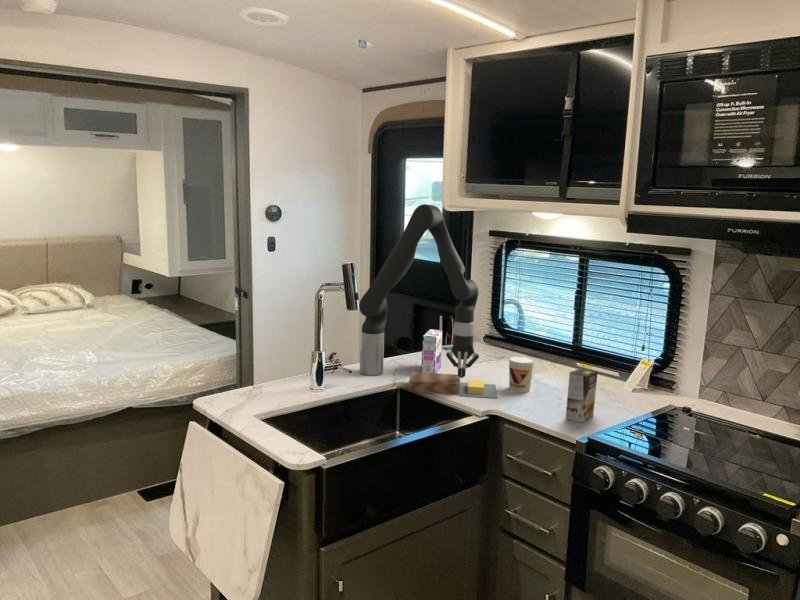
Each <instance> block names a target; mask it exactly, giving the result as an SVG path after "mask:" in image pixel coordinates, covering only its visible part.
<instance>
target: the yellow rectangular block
mask: <svg viewBox="0 0 800 600" xmlns="http://www.w3.org/2000/svg"><path fill="white" fill-rule="evenodd" d="M484 382H485V380H479V379H467V383H468V393H474V394H484V384H485V383H484Z"/></svg>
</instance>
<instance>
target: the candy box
mask: <svg viewBox="0 0 800 600" xmlns="http://www.w3.org/2000/svg"><path fill="white" fill-rule="evenodd" d="M421 345H422V346H421V347H422V348H421V349H422V351H421V369H420V371H421V373H438V371H439V370H440V369H441V367H442V351H443V350H442V348H443V347H442V345H443V330H442V329H441V330H440V329H433V328H432V329H431V328H430V329H429V330H428V331H426V333H424V335H422V344H421Z"/></svg>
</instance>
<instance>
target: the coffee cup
mask: <svg viewBox="0 0 800 600" xmlns="http://www.w3.org/2000/svg"><path fill="white" fill-rule="evenodd" d="M534 364H535V363H534V360H533V359H532V358H530V357H525V356H513V357H510V358H509V359H508V365H509V366H508V369H509V371H508V373H509V374H508V377H509V378H508V384H509V387H508V388H509V390H510V391H511V392H512V393H516V394H526V393H530V390H531V384H532V379H533V371H534Z"/></svg>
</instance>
